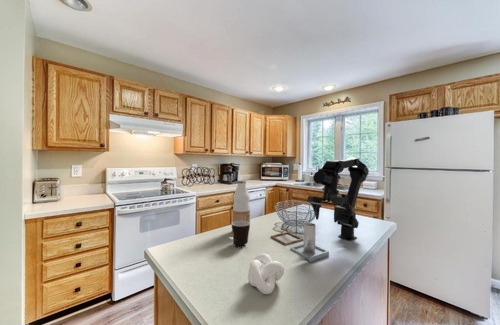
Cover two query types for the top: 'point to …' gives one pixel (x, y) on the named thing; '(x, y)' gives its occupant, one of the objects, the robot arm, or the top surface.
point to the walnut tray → (286, 238)
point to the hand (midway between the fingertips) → (326, 220)
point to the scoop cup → (309, 238)
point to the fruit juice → (241, 203)
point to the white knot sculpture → (264, 273)
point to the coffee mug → (240, 233)
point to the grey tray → (312, 258)
